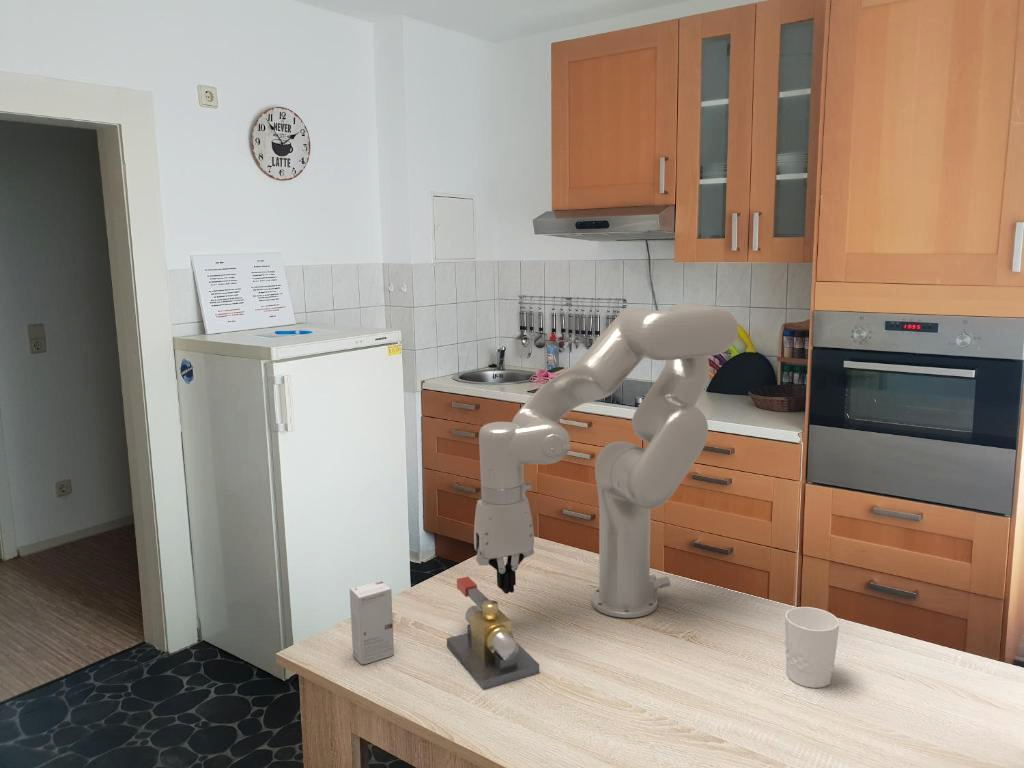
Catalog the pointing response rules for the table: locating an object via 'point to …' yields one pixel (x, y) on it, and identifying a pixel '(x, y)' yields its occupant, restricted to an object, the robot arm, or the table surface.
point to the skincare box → (371, 622)
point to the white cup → (810, 646)
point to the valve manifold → (491, 650)
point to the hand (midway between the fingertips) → (506, 589)
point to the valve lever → (478, 597)
